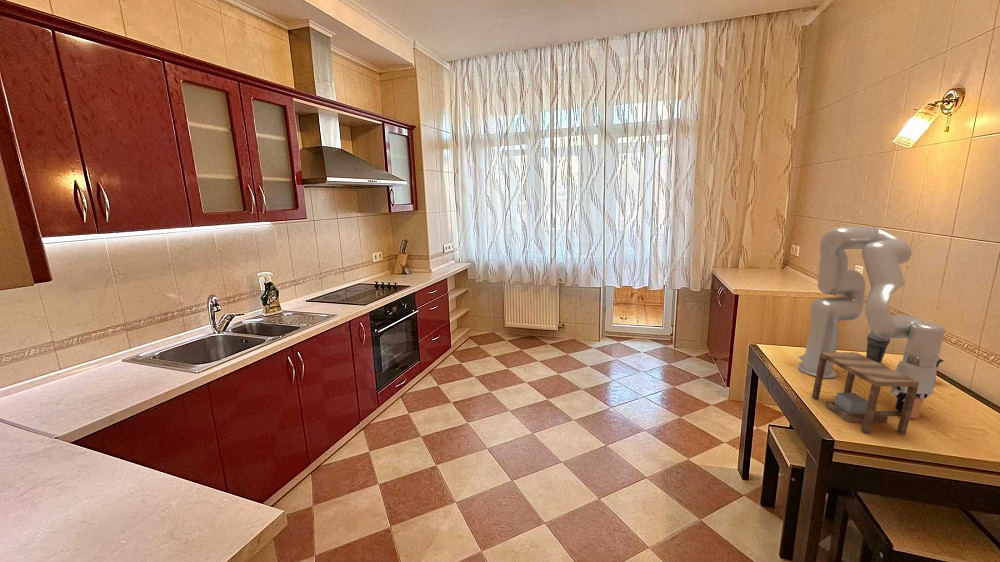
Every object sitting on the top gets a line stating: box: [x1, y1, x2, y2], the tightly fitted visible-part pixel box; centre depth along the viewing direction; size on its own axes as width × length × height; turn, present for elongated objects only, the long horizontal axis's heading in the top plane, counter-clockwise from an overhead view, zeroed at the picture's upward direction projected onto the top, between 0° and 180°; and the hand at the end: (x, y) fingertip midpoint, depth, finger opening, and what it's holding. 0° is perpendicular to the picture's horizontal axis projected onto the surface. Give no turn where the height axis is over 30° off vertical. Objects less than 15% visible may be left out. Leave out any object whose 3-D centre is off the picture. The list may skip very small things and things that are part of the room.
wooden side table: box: [811, 351, 919, 435], centre depth 132 cm, size 22×13×18 cm, turn 179°
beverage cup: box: [865, 330, 891, 364], centre depth 170 cm, size 7×7×20 cm
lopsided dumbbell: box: [834, 392, 923, 419], centre depth 133 cm, size 6×23×7 cm, turn 89°
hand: (906, 410), depth 134 cm, fingers closed on lopsided dumbbell, 3 cm apart
